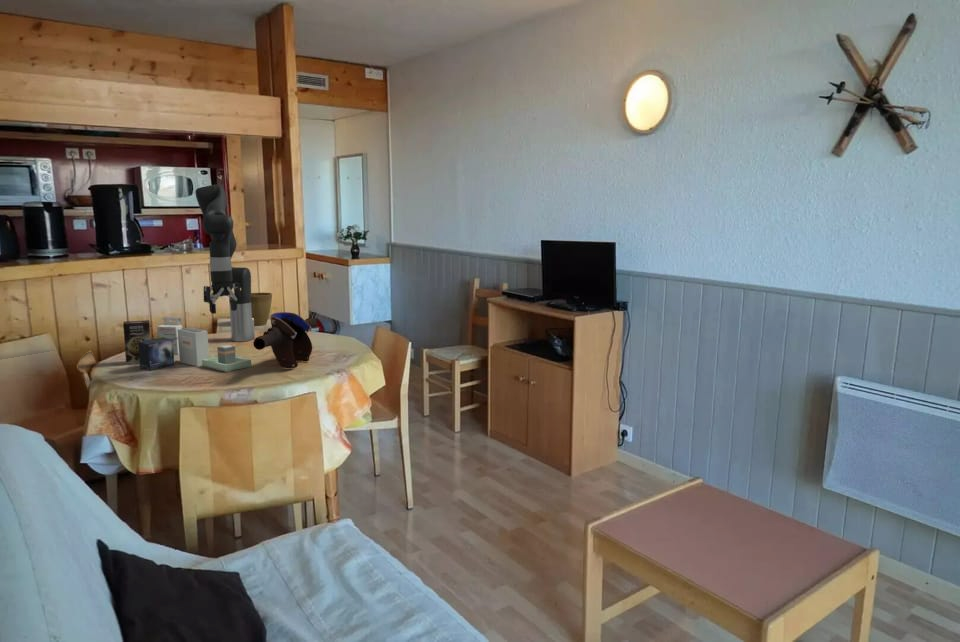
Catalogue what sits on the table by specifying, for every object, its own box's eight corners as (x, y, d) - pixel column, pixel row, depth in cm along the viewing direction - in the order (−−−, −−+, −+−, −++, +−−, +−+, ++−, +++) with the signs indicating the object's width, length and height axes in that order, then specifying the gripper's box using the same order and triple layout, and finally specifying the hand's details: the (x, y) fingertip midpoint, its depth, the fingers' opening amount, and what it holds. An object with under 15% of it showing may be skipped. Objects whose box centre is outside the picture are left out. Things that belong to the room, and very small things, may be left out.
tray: (227, 360, 252) (227, 354, 252) (251, 366, 244) (251, 359, 244) (202, 366, 243) (201, 359, 243) (226, 372, 235) (225, 365, 235)
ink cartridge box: (158, 354, 263) (155, 319, 260) (165, 351, 268) (162, 317, 265) (177, 354, 262) (175, 319, 259) (184, 352, 267) (182, 317, 264)
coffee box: (126, 365, 244) (122, 323, 241) (126, 361, 250) (122, 321, 247) (152, 362, 248) (149, 322, 245) (152, 359, 254) (149, 319, 251)
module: (228, 362, 247) (227, 344, 246) (236, 364, 244) (235, 346, 243) (218, 365, 243) (217, 346, 242) (225, 366, 241) (224, 348, 239)
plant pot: (278, 322, 337) (277, 292, 335) (265, 327, 323) (264, 296, 320) (251, 321, 339) (250, 291, 336) (237, 326, 325) (236, 295, 322)
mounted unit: (193, 359, 255) (190, 326, 252) (210, 363, 248) (208, 329, 246) (179, 362, 250) (176, 328, 247) (196, 366, 243) (194, 332, 241)
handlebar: (276, 380, 225) (274, 324, 221) (243, 378, 227) (240, 323, 223) (328, 353, 268) (327, 306, 264) (300, 351, 270) (298, 304, 267)
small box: (149, 371, 236) (146, 343, 234) (139, 368, 239) (136, 341, 237) (175, 365, 244) (173, 338, 243) (165, 363, 248) (163, 336, 246)
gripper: (231, 267, 245) (234, 308, 248) (197, 269, 233) (200, 313, 236) (243, 268, 241) (246, 310, 244) (209, 271, 229) (212, 315, 232)
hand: (223, 311), depth 240 cm, fingers open, 8 cm apart
